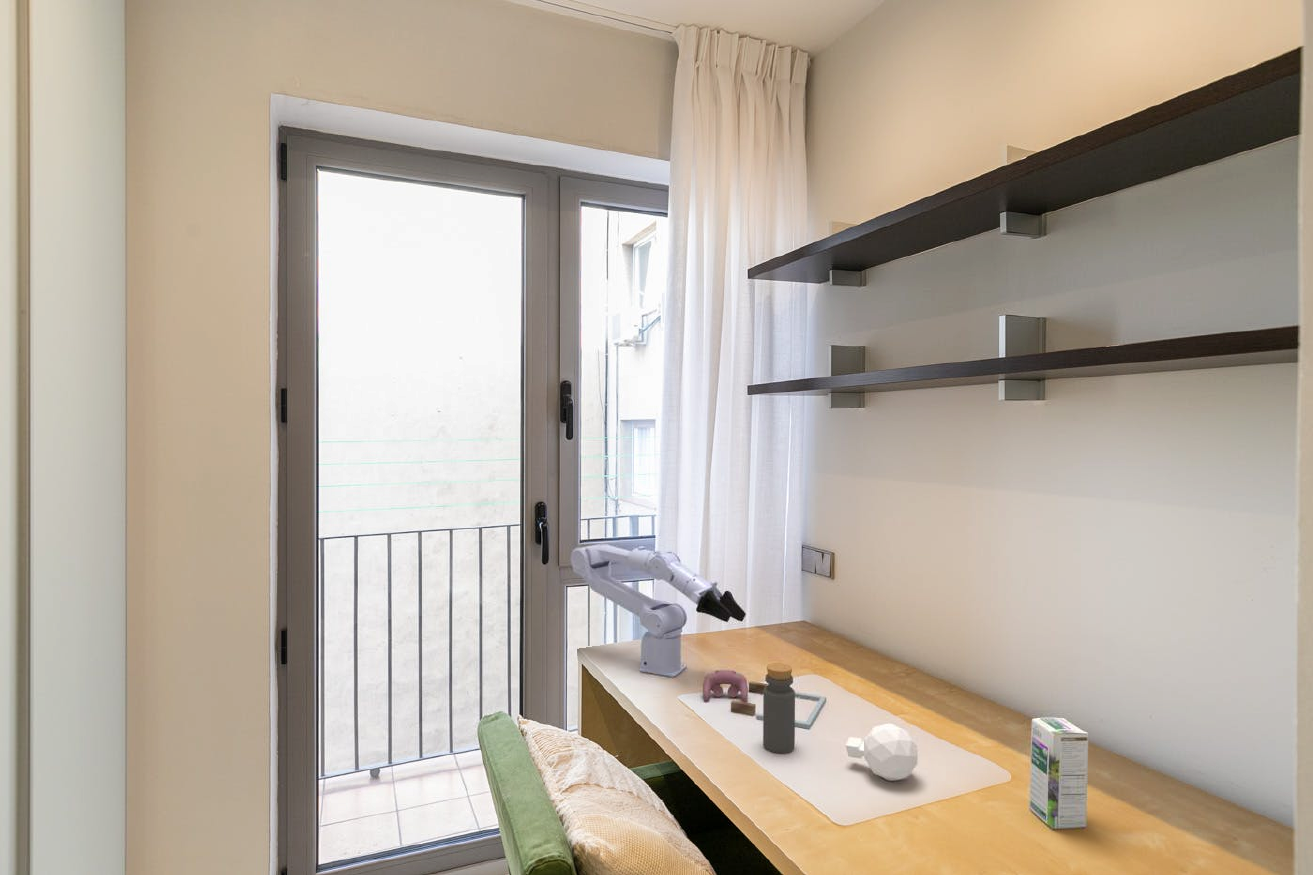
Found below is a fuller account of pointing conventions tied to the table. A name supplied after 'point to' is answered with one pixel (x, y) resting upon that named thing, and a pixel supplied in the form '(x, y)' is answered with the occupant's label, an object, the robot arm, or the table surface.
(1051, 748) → the syrup box
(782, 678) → the bottle
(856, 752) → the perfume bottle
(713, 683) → the video game controller
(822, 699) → the frame
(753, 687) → the wooden blocks
